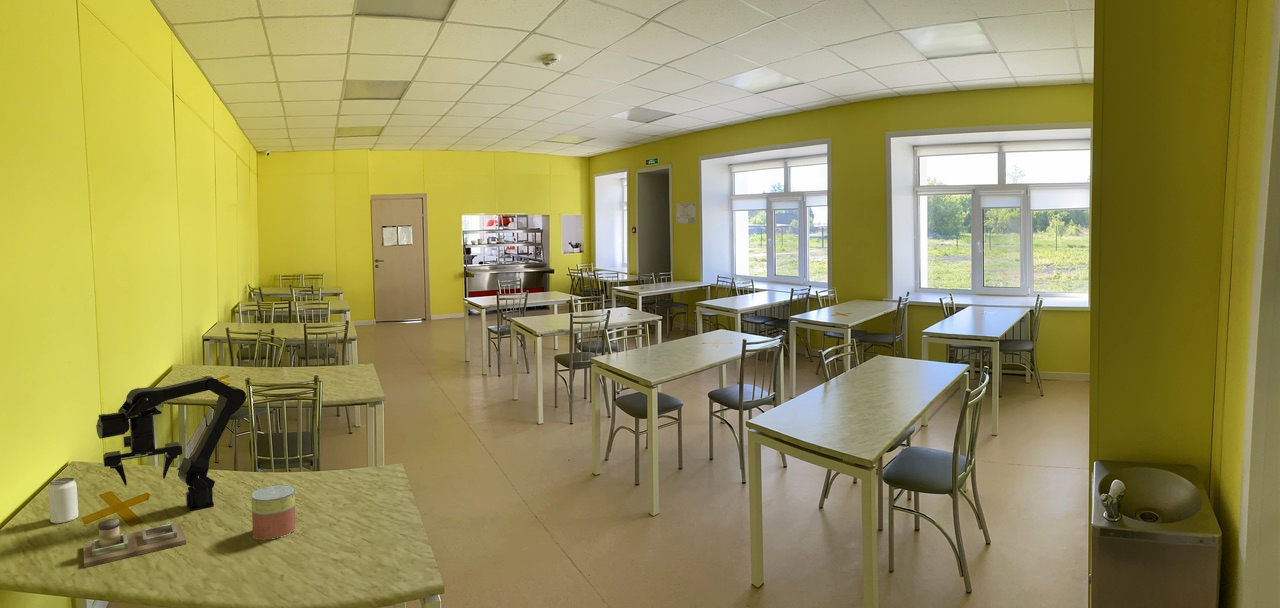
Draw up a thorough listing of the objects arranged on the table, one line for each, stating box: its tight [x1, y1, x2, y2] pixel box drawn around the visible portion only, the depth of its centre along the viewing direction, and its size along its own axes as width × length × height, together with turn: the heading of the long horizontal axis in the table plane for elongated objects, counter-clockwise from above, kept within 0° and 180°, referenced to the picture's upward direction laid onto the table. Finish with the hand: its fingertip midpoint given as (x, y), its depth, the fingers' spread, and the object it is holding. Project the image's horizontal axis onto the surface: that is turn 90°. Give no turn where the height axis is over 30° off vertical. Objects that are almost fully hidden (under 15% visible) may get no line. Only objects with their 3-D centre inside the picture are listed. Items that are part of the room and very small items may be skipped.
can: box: [47, 477, 79, 524], centre depth 200 cm, size 6×6×12 cm
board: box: [82, 522, 187, 568], centre depth 186 cm, size 22×14×3 cm, turn 130°
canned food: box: [250, 484, 297, 540], centre depth 196 cm, size 11×11×12 cm
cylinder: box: [97, 518, 120, 548], centre depth 182 cm, size 4×4×7 cm
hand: (145, 481), depth 201 cm, fingers open, 9 cm apart
